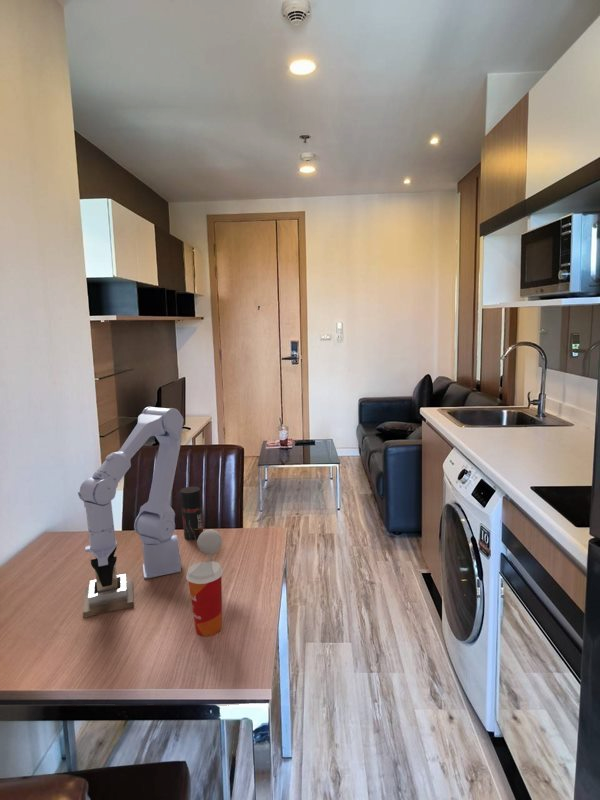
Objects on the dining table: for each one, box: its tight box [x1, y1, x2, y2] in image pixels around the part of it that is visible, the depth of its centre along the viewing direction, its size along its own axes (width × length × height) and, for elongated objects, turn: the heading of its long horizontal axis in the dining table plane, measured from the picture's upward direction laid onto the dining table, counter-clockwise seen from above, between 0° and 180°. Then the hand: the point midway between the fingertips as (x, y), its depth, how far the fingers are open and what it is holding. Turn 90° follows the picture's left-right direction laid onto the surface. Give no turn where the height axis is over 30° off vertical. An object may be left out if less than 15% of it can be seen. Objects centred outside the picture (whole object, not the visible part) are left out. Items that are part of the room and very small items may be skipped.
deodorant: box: [179, 486, 204, 541], centre depth 156 cm, size 6×6×15 cm
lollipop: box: [196, 529, 223, 562], centre depth 125 cm, size 6×6×15 cm
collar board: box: [82, 573, 135, 618], centre depth 123 cm, size 11×12×4 cm
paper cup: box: [185, 560, 224, 637], centre depth 108 cm, size 8×8×14 cm
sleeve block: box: [94, 562, 118, 593], centre depth 122 cm, size 4×4×6 cm
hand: (107, 580), depth 122 cm, fingers closed on sleeve block, 4 cm apart
